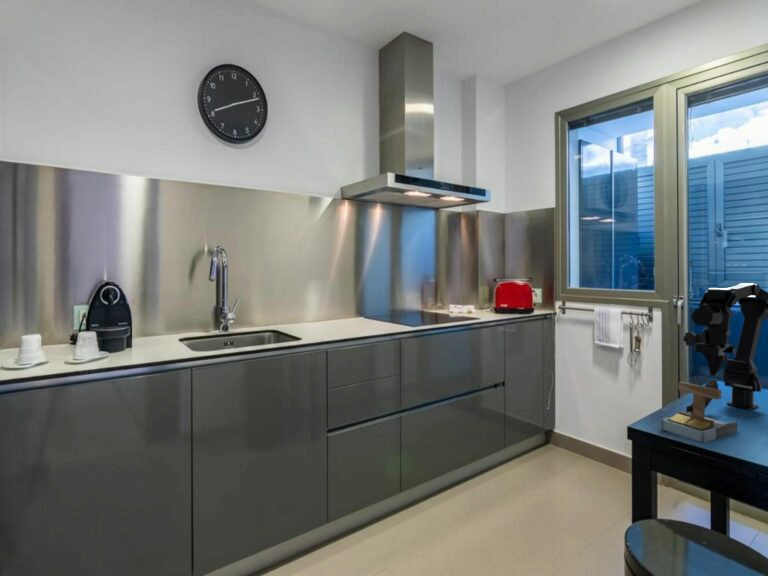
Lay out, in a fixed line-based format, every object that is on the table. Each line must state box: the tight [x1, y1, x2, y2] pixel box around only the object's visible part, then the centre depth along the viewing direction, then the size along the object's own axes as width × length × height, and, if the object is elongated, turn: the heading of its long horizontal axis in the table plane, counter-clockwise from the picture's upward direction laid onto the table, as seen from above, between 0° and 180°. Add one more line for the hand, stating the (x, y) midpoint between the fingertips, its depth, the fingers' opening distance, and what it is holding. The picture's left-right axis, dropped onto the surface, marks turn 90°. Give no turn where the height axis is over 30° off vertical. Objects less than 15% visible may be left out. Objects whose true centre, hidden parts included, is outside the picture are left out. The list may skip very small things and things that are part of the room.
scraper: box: [677, 381, 722, 429], centre depth 120 cm, size 3×10×11 cm, turn 26°
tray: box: [660, 416, 717, 444], centre depth 119 cm, size 6×11×3 cm, turn 25°
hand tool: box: [685, 378, 719, 413], centre depth 133 cm, size 19×4×5 cm, turn 120°
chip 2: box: [686, 418, 711, 431], centre depth 117 cm, size 4×4×3 cm
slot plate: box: [686, 411, 738, 440], centre depth 122 cm, size 10×11×3 cm
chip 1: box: [669, 412, 692, 426], centre depth 121 cm, size 4×4×3 cm
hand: (712, 375), depth 134 cm, fingers closed
